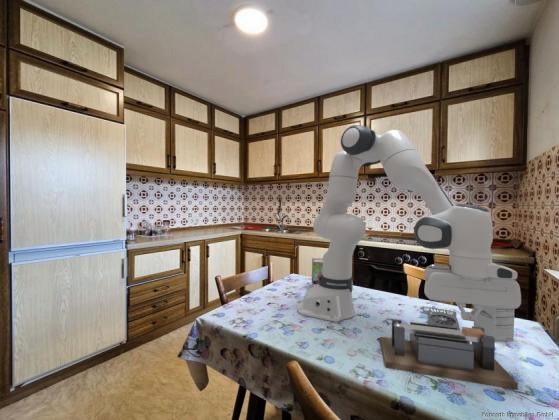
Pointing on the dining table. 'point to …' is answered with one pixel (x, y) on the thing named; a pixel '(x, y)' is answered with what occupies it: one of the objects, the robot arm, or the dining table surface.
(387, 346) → the heatsink board
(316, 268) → the tea box
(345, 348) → the dining table surface
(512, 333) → the supplement box
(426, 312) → the graphics card
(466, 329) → the bar
